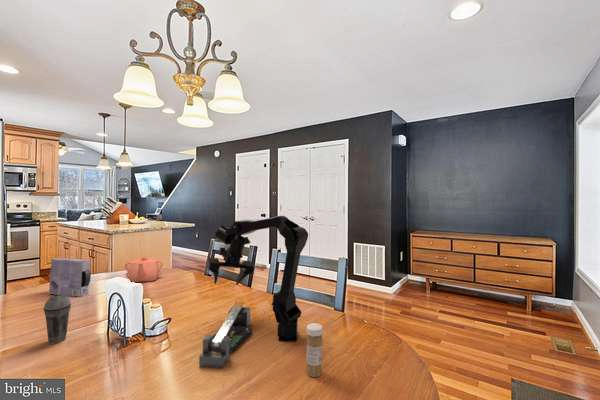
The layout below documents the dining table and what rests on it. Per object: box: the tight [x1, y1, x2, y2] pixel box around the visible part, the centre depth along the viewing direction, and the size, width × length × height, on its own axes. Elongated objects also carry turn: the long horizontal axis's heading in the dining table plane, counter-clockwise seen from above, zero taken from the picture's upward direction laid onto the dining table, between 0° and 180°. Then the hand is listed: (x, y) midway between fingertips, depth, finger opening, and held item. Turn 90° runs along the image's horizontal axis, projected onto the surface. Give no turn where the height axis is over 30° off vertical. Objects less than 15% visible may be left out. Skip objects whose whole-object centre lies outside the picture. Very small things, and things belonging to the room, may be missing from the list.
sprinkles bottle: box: [305, 322, 324, 378], centre depth 82 cm, size 5×5×14 cm
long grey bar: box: [211, 301, 245, 348], centre depth 99 cm, size 3×25×2 cm, turn 175°
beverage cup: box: [43, 281, 72, 344], centre depth 98 cm, size 7×7×20 cm
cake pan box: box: [48, 257, 92, 298], centre depth 143 cm, size 19×5×18 cm, turn 82°
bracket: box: [198, 306, 252, 369], centre depth 98 cm, size 7×30×7 cm, turn 175°
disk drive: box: [212, 325, 253, 355], centre depth 99 cm, size 10×3×15 cm
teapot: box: [124, 255, 164, 283], centre depth 167 cm, size 20×19×14 cm
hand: (225, 284), depth 118 cm, fingers open, 9 cm apart
